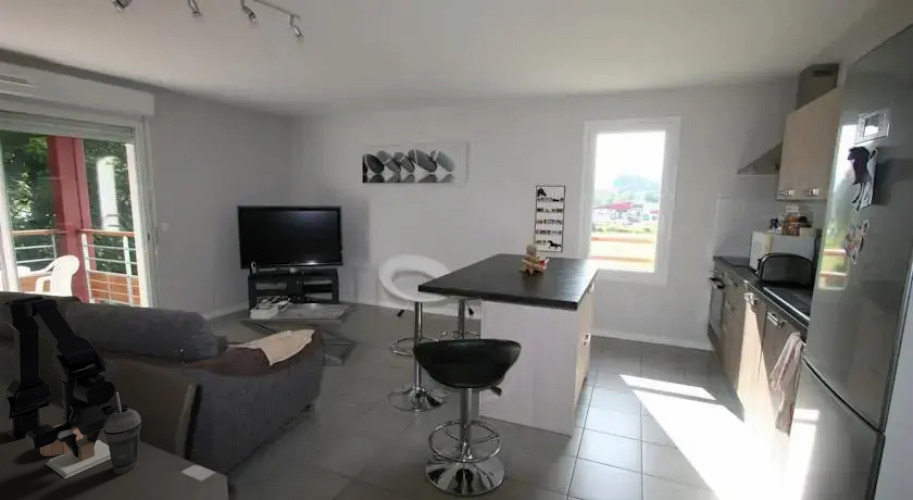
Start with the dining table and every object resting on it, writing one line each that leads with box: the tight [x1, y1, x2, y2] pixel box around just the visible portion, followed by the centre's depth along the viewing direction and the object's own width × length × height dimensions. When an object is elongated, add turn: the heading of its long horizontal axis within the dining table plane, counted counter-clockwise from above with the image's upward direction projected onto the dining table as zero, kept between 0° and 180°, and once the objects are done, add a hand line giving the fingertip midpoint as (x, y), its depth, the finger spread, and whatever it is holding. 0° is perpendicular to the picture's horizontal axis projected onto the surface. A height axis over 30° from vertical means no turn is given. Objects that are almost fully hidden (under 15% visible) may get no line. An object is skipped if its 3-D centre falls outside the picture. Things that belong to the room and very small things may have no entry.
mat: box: [45, 457, 111, 480], centre depth 103 cm, size 11×11×1 cm
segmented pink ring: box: [39, 423, 84, 457], centre depth 108 cm, size 8×8×5 cm
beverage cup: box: [103, 391, 143, 475], centre depth 99 cm, size 7×7×20 cm
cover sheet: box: [48, 436, 111, 476], centre depth 103 cm, size 10×10×4 cm
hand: (83, 453), depth 103 cm, fingers closed on cover sheet, 2 cm apart
